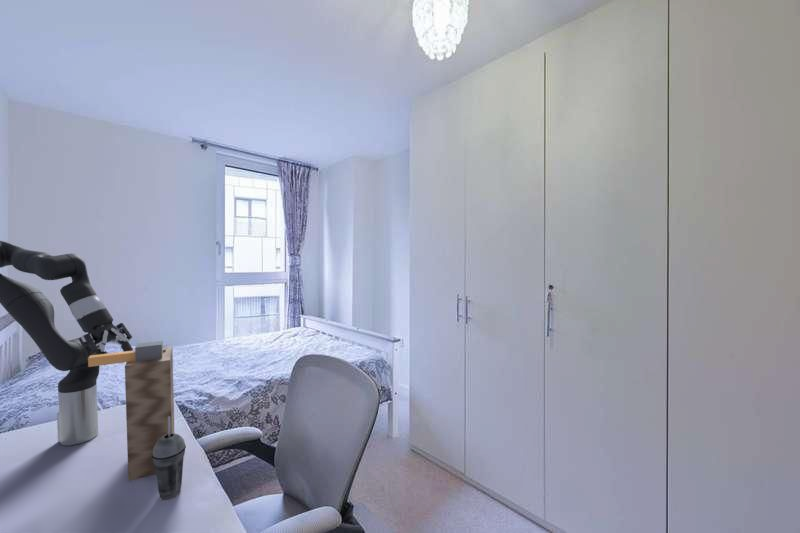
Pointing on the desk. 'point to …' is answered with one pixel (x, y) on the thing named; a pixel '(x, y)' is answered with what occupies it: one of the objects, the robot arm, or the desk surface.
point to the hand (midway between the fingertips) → (119, 358)
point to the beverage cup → (169, 464)
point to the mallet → (129, 354)
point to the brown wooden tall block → (148, 410)
